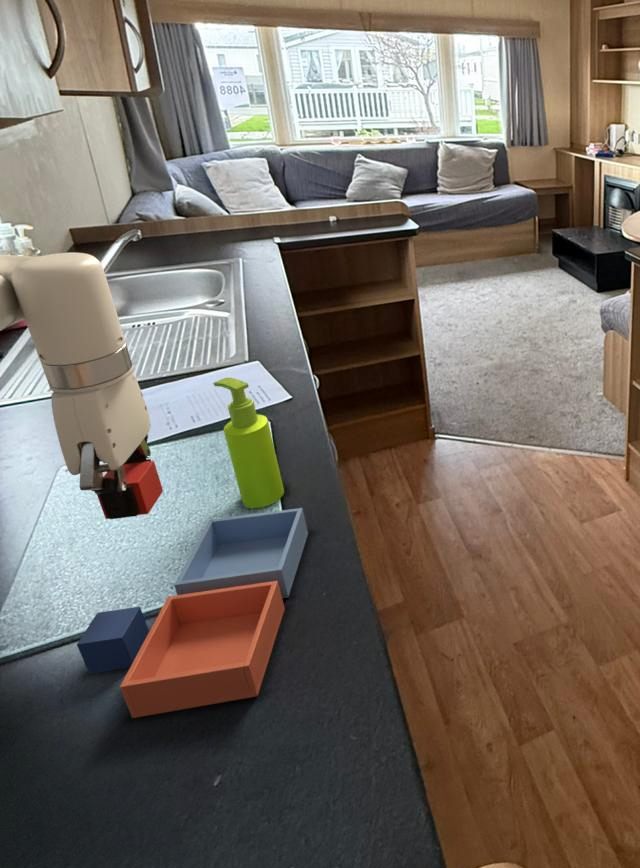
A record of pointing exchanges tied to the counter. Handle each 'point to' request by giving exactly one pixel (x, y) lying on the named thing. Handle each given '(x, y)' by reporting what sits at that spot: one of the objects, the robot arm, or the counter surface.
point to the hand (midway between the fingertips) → (133, 500)
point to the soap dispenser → (251, 449)
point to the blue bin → (246, 552)
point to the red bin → (205, 649)
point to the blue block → (113, 639)
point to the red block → (141, 484)
